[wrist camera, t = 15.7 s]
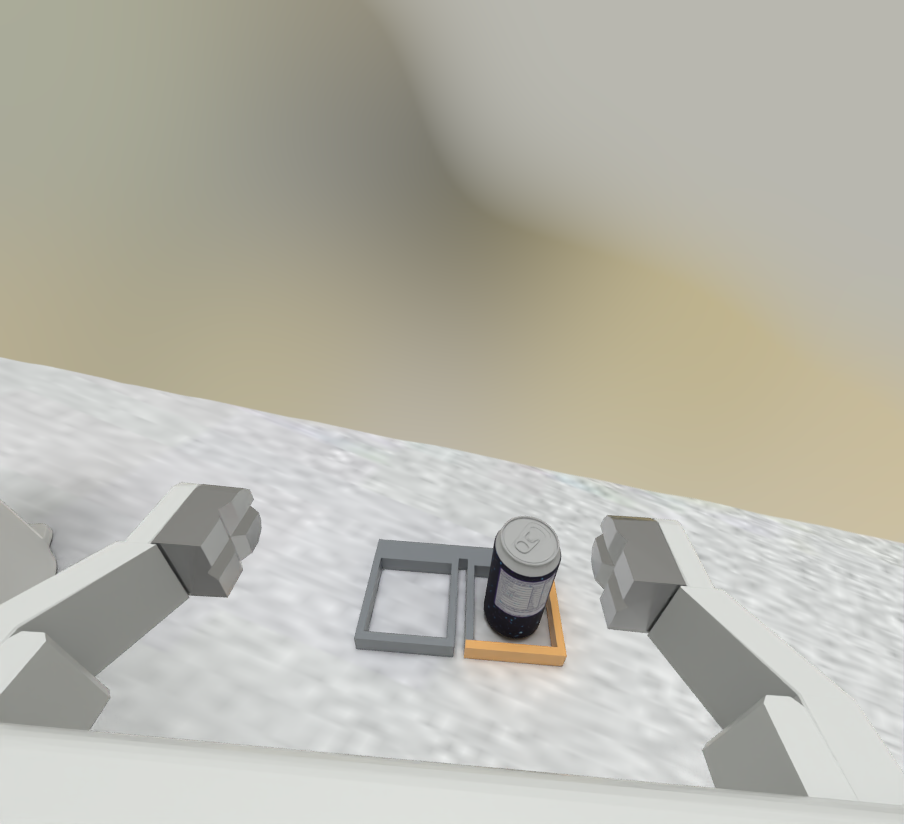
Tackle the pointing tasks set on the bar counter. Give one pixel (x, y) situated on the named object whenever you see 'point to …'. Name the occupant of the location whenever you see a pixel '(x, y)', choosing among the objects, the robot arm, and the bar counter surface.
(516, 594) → the beverage can
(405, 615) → the bar counter surface
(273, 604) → the bar counter surface
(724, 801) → the robot arm
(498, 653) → the divided rectangular frame
